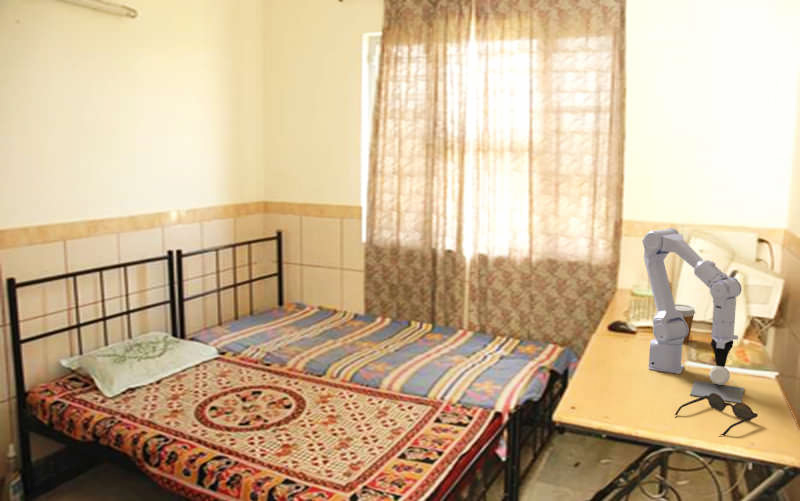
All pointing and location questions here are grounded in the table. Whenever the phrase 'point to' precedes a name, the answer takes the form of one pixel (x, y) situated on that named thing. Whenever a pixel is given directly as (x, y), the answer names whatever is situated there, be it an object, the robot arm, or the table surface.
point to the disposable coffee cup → (686, 316)
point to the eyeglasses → (718, 403)
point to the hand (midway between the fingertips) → (720, 365)
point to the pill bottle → (719, 375)
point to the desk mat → (718, 391)
